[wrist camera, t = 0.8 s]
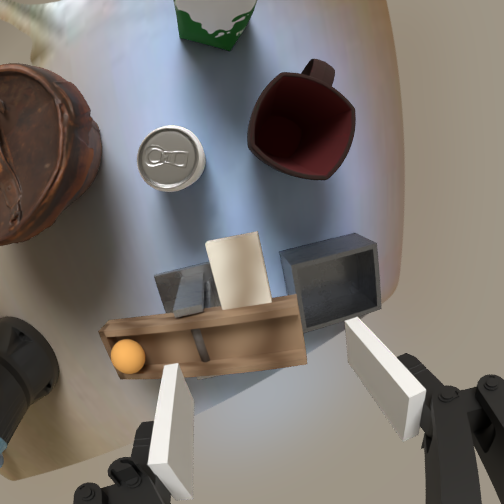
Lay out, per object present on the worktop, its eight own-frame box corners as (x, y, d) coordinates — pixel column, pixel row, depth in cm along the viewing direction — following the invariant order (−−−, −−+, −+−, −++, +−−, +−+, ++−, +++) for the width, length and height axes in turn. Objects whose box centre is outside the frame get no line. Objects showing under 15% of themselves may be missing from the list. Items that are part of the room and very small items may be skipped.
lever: (129, 366, 37) (120, 379, 34) (88, 265, 33) (75, 273, 30) (305, 349, 34) (307, 364, 31) (283, 226, 30) (284, 233, 27)
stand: (178, 344, 45) (171, 391, 34) (155, 274, 42) (137, 309, 31) (245, 329, 45) (255, 374, 34) (227, 257, 42) (232, 287, 32)
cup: (228, 157, 39) (235, 152, 28) (268, 64, 37) (290, 28, 25) (299, 186, 41) (332, 193, 30) (336, 95, 39) (377, 73, 27)
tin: (290, 311, 45) (302, 333, 39) (279, 251, 43) (290, 265, 37) (361, 291, 46) (381, 308, 40) (355, 232, 44) (376, 243, 37)
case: (37, 73, 32) (-38, 41, 15) (150, 116, 36) (106, 83, 19) (-6, 186, 35) (-87, 205, 18) (96, 240, 40) (33, 289, 23)
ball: (127, 361, 35) (113, 380, 32) (115, 333, 34) (99, 351, 30) (155, 360, 35) (142, 381, 31) (143, 331, 34) (128, 350, 30)
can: (159, 133, 37) (139, 119, 26) (209, 139, 38) (209, 127, 27) (151, 183, 39) (128, 189, 27) (201, 190, 40) (197, 197, 28)
